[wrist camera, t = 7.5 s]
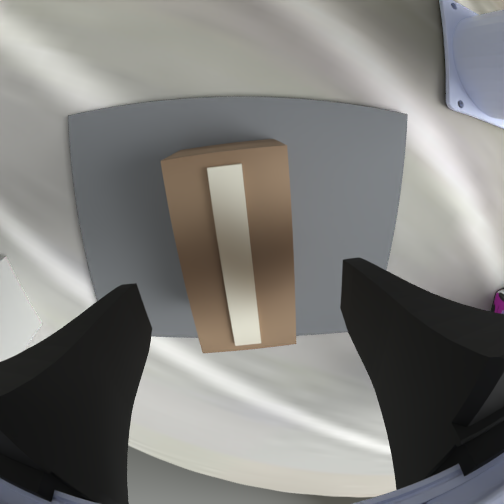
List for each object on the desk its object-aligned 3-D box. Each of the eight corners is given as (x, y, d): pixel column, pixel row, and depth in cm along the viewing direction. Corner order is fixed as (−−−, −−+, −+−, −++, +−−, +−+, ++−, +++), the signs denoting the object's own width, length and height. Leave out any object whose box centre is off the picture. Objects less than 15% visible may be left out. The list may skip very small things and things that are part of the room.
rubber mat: (402, 113, 14) (407, 114, 13) (368, 325, 19) (370, 329, 19) (72, 115, 13) (68, 115, 12) (109, 328, 18) (107, 333, 18)
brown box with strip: (284, 298, 17) (296, 346, 14) (208, 306, 17) (202, 355, 14) (273, 138, 14) (288, 145, 10) (180, 150, 14) (159, 161, 10)
